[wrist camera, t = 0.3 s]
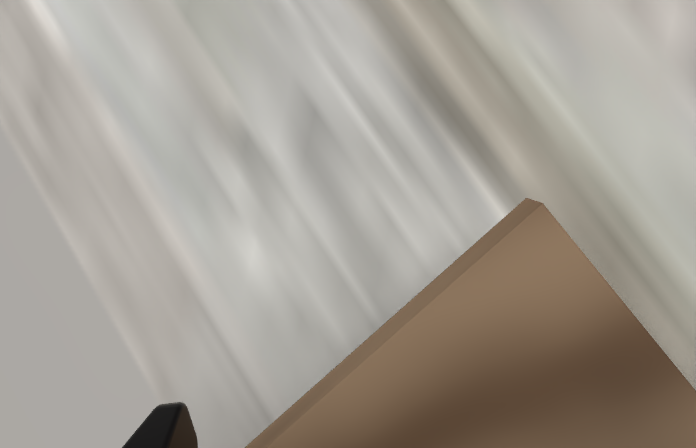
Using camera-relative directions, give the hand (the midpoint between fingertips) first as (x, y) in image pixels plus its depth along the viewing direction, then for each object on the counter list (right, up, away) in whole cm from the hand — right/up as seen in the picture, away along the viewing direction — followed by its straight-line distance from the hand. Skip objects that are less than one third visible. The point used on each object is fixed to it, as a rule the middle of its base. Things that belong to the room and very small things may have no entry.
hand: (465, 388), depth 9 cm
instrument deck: (+6, -8, +9) cm, 14 cm away
